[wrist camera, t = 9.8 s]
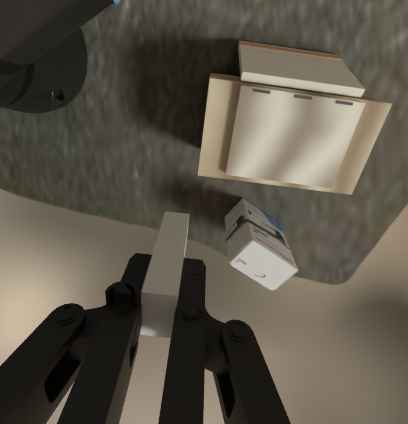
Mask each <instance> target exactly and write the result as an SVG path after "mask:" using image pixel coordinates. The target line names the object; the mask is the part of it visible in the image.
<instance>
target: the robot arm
mask: <svg viewBox="0 0 408 424" xmlns="http://www.w3.org/2000/svg"><path fill="white" fill-rule="evenodd" d="M119 2H120V0H0V107H2V108H7V109H11V110H16V111H20V112H25V113H45V112H49V111H52V110H55V109H58V108H61V107H63V106H65V105H67V104H68V103H70V102H71V101H72V100H73V99H74V98H75V97H76V96H77V94H78V93H79V91H80V90H81V88H82V86H83V83H84V80H85V77H86V72H87V50H86V44H85V40H84V37H83V33H82V31H81V28H80V27H81V26H83V25H84V24H85V23H87V22H88V21H89V20H91V19H92V18H93V17H95V16H96V15H97V14H99V13H100V12H101V11H103V10H104V9H105V8H106V7H108V6H109V5H110V4H112V3H113V5H114V6H116V5H117V4H118V3H119ZM189 215H190V214H185V213H176V212H168V211H165V214H164V217H163V221H162V224H161V227H160V231H159V234H158V238H157V241H156V244H155V248H154V251H153V254H152V255H149V254H140V253H136V254H135V255H133V256H132V257H131V258H130V259H129V262H128V264H127V268H126V269H125V273H124V274H123V277H122V279H121V281H120V282H116V283H113V284H112V285H110V286H109V287H108V288H107V290H106V291H105V294H106V305H104V306H102V307H98V308H94V309H88V310H84V309H83V307H82V306H80V305H78V304H74V303H70V304H64V305H62V306H60V307H58V308H56V309H55V310H54V311H52V312H51V313H50V314H49V316H48V317H47V318H46V319H45V320H44V321H43V322H42V323H41V324H40V325H39V326H38V327H37V328H36V329H35V330H34V331H33V333H32V334H31V335H29V337H28V338H27V339H26V340H25V341H24V342H23V343H22V344H21V345H20V346H19V347H18V348H17V349H16V350H15V351H14V352H13V353H12V354H11V355H10V356H9V357H8V359H7V360H6V361H5V362H4V363H3V364H2V365H1V366H0V424H46V423H47V421H48V420H49V418H50V417H51V415H52V414H53V412H54V411H55V409H56V408H57V406H58V405H59V403H60V402H61V400H62V399H63V397H64V396H65V394H66V393H67V391H68V390H69V388H70V387H71V385H72V384H73V383H74V384H73V386H72V389H71V391H70V394H69V396H68V398H67V401H66V403H65V406H64V408H63V410H62V413H61V415H60V418H59V420H58V422H57V424H119V421H120V417H121V413H122V409H123V405H124V401H125V397H126V393H127V389H128V385H129V381H130V377H131V373H132V369H133V365H134V361H135V357H136V353H137V349H138V338H139V334H140V331H141V335H149V336H158V337H168V338H171V342H170V349H169V355H168V362H167V369H166V375H165V382H164V389H163V396H162V403H161V410H160V416H159V423H158V424H203V410H204V371H205V370H204V369H207V370H209V371H212V372H213V375H214V380H215V384H216V388H217V392H218V397H219V401H220V405H221V410H222V414H223V418H224V422H225V424H291V423H290V421H289V418H288V416H287V413H286V411H285V409H284V406H283V404H282V401H281V399H280V396H279V394H278V392H277V389H276V386H275V384H274V382H273V379H272V377H271V374H270V372H269V369H268V367H267V364H266V362H265V360H264V357H263V355H262V352H261V350H260V347H259V345H258V342H257V340H256V337H255V335H254V333H253V331H252V329H251V328H250V327H249V325H247V324H246V323H245V322H243V321H240V320H230V321H227V322H226V323H223V322H220V321H218V320H216V319H214V318H213V317H211V316H210V315H209V314H208V312H207V310H206V308H205V280H206V266H205V264H204V262H203V261H202V260H198V259H190V258H184V257H185V249H186V241H187V232H188V223H189ZM74 381H75V382H74Z"/></svg>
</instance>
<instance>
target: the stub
mask: <svg viewBox="0 0 408 424" xmlns="http://www.w3.org/2000/svg"><path fill="white" fill-rule="evenodd" d="M238 53H239V65H240V77H241V80H242V81H249V82H256V83H263V84H270V85H277V86H284V87H291V88H298V89H305V90H312V91H319V92H326V93H333V94H340V95H347V96H354V97H361V96H362V94H363V92H364V90H365V88H364V87H363V86H362V85H361V84H360V82H359V81H358V80H357V79H356V78H355V76H354V75H353V74H352V73H351V72H350V70H349V69H348V68H347V67H346V66H345V64H344V63H343V62H342V61H341V58H340V57H339V56H337V55H334V54H327V53H321V52H314V51H307V50H301V49H294V48H287V47H280V46H274V45H267V44H260V43H253V42H247V41H240V40H239V45H238Z"/></svg>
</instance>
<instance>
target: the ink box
mask: <svg viewBox="0 0 408 424" xmlns="http://www.w3.org/2000/svg"><path fill="white" fill-rule="evenodd" d="M225 229H226V242H227V256H228V262H229V263H230V264H231V266H233V267H234V268H236V269H238V270H239V271H241V272H242V273H244V274H246V275H247V276H249V277H250V278H252V279H253V280H255V281H257V282H259V283H260V284H261V285H263V286H264V287H266V288H268V289H269V290H276V289H277V288H279V287H280V286H281V285H282V284H284V283H285V282H286V281H287V280H288V279H290V278H291V277H292V276H293V275H295V274H296V273H297V272H298V269H297V266H296V264H295V261H294V259H293V256H292V254H291V251H290V249H289V246H288V244H287V241H286V239H285V236H284V234H283V231H282V229H281V226H280V224H279V223H278V222H276V221H275V220H273V219H272V218H270V217H269V216H267V215H266V214H265V213H263V212H262V211H260V210H259V209H257V208H256V207H255V206H253V205H252V204H250V203H249V202H247V201H246V200H244V199H243V198H242V199H241V200H240V201H239V202H238V203H237V204H236V205H235V206H234V207H233V208H232V209H231V211H230V212H229V213H228V214H227V215H226V216H225Z"/></svg>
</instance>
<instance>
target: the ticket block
mask: <svg viewBox="0 0 408 424" xmlns="http://www.w3.org/2000/svg"><path fill="white" fill-rule="evenodd" d="M391 105H392V104H391V103H387V102H383V101H379V100H375V99H372V98H368V97H364V96H361V97H354V96H347V95H340V94H333V93H326V92H319V91H312V90H305V89H298V88H291V87H284V86H277V85H270V84H263V83H256V82H249V81H242V80H241V77H238V76H231V75H224V74H217V73H210V79H209V87H208V95H207V103H206V112H205V120H204V128H203V136H202V144H201V153H200V161H199V170H198V175H199V176H207V177H215V178H223V179H231V180H239V181H247V182H254V183H262V184H270V185H278V186H286V187H294V188H302V189H310V190H318V191H326V192H333V193H341V194H349V195H352V192H353V190H354V188H355V186H356V183H357V181H358V179H359V177H360V174H361V172H362V170H363V168H364V166H365V163H366V161H367V159H368V157H369V154H370V152H371V150H372V148H373V145H374V143H375V141H376V139H377V136H378V134H379V132H380V130H381V128H382V125H383V123H384V121H385V119H386V116H387V114H388V112H389V110H390V107H391Z"/></svg>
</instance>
